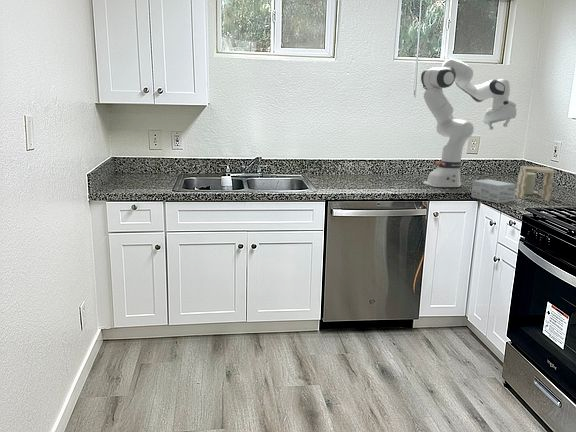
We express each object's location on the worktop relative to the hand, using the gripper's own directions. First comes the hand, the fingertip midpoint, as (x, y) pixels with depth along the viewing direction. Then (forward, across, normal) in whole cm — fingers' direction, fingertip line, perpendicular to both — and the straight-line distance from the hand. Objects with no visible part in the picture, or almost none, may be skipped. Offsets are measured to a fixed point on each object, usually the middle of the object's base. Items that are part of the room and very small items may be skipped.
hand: (498, 128), depth 302 cm
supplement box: (+51, +16, -22) cm, 58 cm away
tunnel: (+42, +20, +5) cm, 47 cm away
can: (+39, +15, +9) cm, 43 cm away
